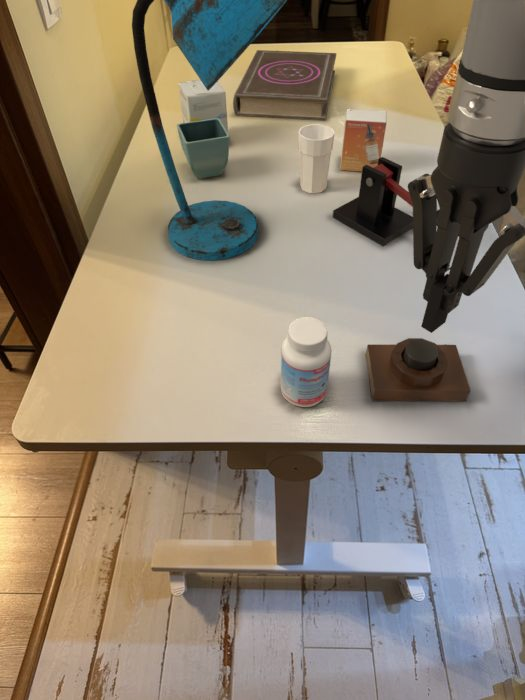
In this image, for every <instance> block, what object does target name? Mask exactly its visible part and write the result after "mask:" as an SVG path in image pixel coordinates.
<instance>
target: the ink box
mask: <svg viewBox="0 0 525 700" xmlns="http://www.w3.org/2000/svg"><path fill="white" fill-rule="evenodd" d="M178 89H179V97H180V106H181V116H182V123H187V122H194V121H201V120H208V119H213V118H219V119H220V120H221V122H222V124H223V126H224V127H225V129H226V131H227V132H228V133H229V123H228V112H227V111H228V110H227V98H226V97H227V93H226V90H225V89H224V87H223V86H222V85H221V83H220V81H219V80H218V81H217V82H216V83H215V85H214V86H213V87H212V88H211V89H210V90H209V91H208V90H207V89H206V87H205V86H204V84H203V83H202V81H201V80H200V79H195V80H188V81H179V82H178Z"/></svg>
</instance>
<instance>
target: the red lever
mask: <svg viewBox="0 0 525 700" xmlns="http://www.w3.org/2000/svg"><path fill="white" fill-rule="evenodd" d="M374 168H375V169H377V170H379V171H381V172H383V173H385V174H387V176H386V182H385V186H387V187H388V188H389V189H391V190H392V191H393V192H394V193H396V194H397V196H398V198H401V199H402V200H403V201H404V202H406V203H407V204H408V205H409V206H410V207H412V208H413V204H412V200H411V197H410V194H409V191H408V189H406V188H404V187H403V185H401V184H400V183H399V184H398V183H396V182H395V181H394V180H393V179H391V177H392V175H393V172H392V171H390V170H389V169H388V168H387V167H385V166H384V165H383V164H380V165H378V166H376V167H374ZM439 210H440V208H439V209H437V218H438V214H439Z"/></svg>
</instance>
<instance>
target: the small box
mask: <svg viewBox="0 0 525 700" xmlns="http://www.w3.org/2000/svg"><path fill="white" fill-rule="evenodd" d="M344 119H345V120H344V121H345V122H344V127H343V128H344V129H343V137H342V144H341V145H342V147H341V155H340V164H339V166H340V167H339V170H340V171H351V172H352V171H353V172H362V168H363V166H365V165H368V166H371V167H373V168H374V167H376V166H378V159H379V158H381V157H382V153H383V148H384V142H385V135H386V129H387V122H388V121H387V119H388V111H387V110H373V109H372V110H371V109H370V110H369V109H353V108H347V109H346V113H345V118H344Z"/></svg>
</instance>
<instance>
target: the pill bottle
mask: <svg viewBox="0 0 525 700" xmlns="http://www.w3.org/2000/svg"><path fill="white" fill-rule="evenodd" d="M328 333H329V332H328V328H327V325H326V324H325V323H324V322H323V321H322V320H320V319H318V318H316V317H311V316H303V317H299V318H297V319H294V320H293V321H292V322H291V323H290V324H289V326H288V329H287V336H286V337H285V339H284V340H283V342H282V344H281V352H280V353H281V355H280V357H281V359H280V392H281V394H282V397H283V398H284V399H285V400H286V401H287V402H288V403H290V404H292V405H294V406H296V407H300V408H310V407H313V406H316V405H318V404H320V403H321V402H322V401H323V400H325V397H326V395H327V393H328V384H329V376H330V367H331V360H332V359H331V358H332V346H331V343H330V341H329V340H328Z"/></svg>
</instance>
